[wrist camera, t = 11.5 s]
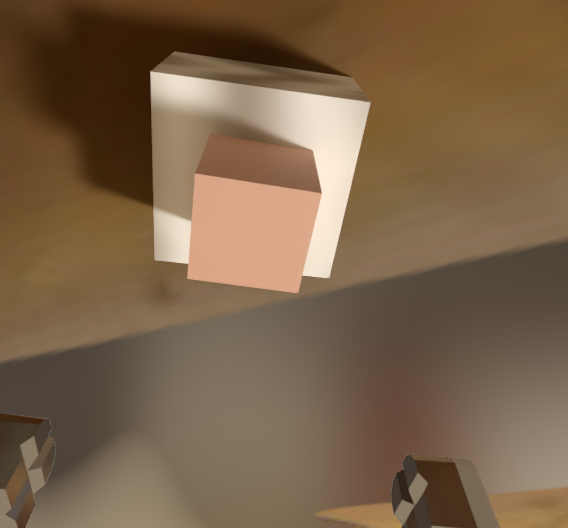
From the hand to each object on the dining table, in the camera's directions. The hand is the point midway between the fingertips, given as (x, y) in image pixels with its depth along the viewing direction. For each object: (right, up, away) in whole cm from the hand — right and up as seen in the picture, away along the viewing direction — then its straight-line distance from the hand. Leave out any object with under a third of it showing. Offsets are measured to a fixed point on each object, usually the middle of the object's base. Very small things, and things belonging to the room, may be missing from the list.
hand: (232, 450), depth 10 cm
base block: (-1, +11, +18) cm, 21 cm away
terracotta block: (0, +8, +13) cm, 15 cm away
